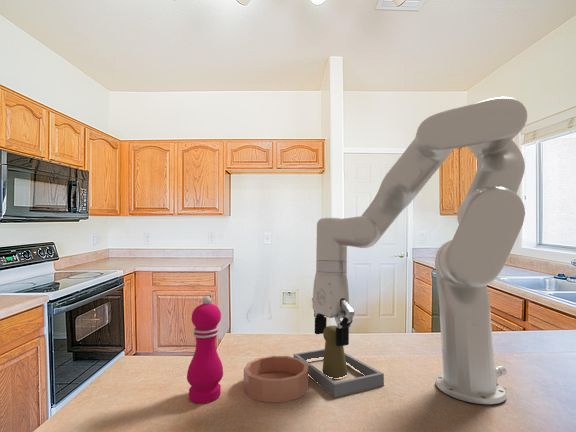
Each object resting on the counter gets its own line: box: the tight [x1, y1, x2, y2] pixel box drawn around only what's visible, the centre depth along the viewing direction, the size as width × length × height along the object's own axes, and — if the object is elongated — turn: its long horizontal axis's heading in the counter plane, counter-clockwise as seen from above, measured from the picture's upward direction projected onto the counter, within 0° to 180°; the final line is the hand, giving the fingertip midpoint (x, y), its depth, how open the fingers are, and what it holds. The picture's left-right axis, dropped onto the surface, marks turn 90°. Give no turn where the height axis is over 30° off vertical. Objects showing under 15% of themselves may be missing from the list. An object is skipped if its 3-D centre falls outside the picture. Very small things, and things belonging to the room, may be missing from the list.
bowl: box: [243, 355, 309, 403], centre depth 66 cm, size 14×14×4 cm
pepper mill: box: [186, 295, 224, 405], centre depth 62 cm, size 7×7×20 cm
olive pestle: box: [321, 325, 348, 378], centre depth 72 cm, size 6×6×11 cm
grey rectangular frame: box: [292, 348, 385, 398], centre depth 72 cm, size 13×20×2 cm, turn 24°
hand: (330, 339), depth 73 cm, fingers open, 9 cm apart
